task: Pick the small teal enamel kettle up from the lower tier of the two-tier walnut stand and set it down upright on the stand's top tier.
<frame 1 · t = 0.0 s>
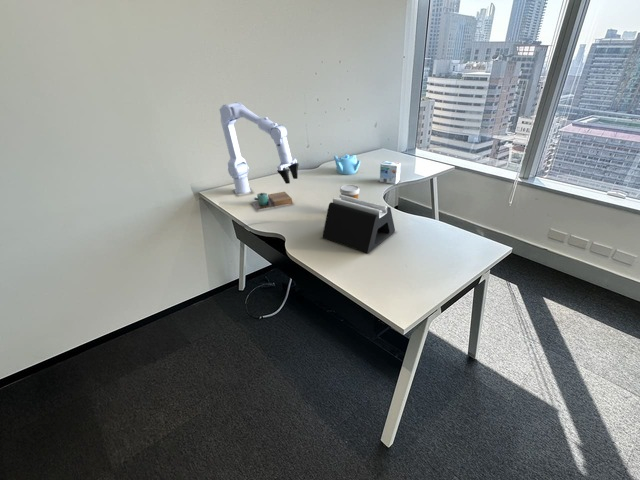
hand: (291, 181, 165), 11 cm above the table, tool pointing down, fingers open, 7 cm apart
disposable coffee cup: (350, 211, 161), on the table
teapot: (347, 172, 212), on the table
tier stand: (272, 204, 167), on the table
light bulb box: (389, 181, 198), on the table
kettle: (263, 203, 165), point 1 cm above the table, touching tier stand
device stand: (359, 235, 141), on the table
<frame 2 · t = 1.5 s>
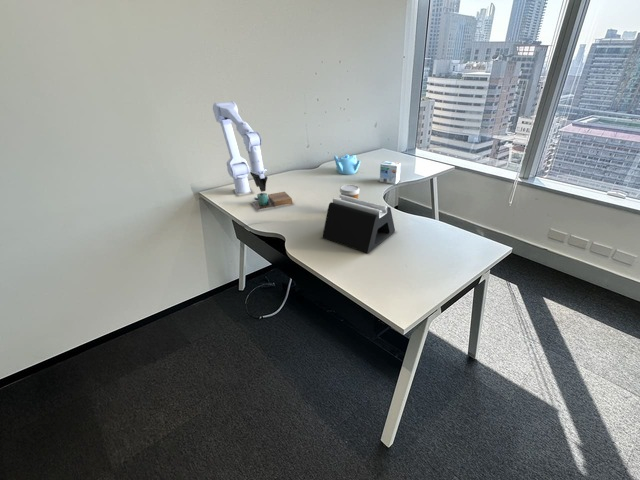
hand: (261, 188, 161), 9 cm above the table, tool pointing down, fingers open, 7 cm apart
nothing on the table moved.
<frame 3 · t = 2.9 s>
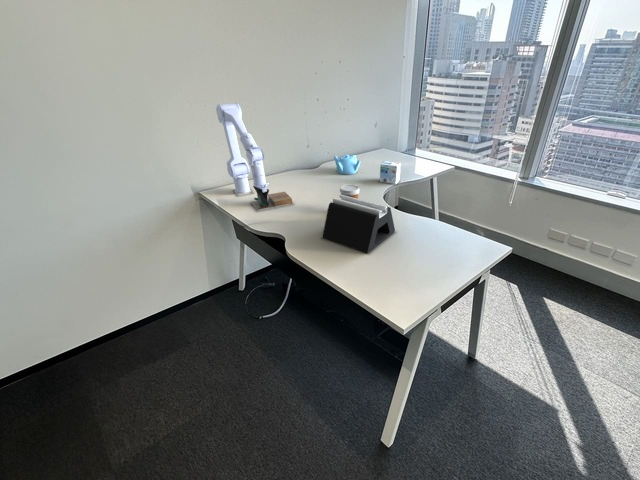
hand: (263, 201, 164), 2 cm above the table, tool pointing down, fingers closed on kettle, 5 cm apart
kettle: (263, 203, 165), point 1 cm above the table, touching gripper, tier stand
everything else where it was.
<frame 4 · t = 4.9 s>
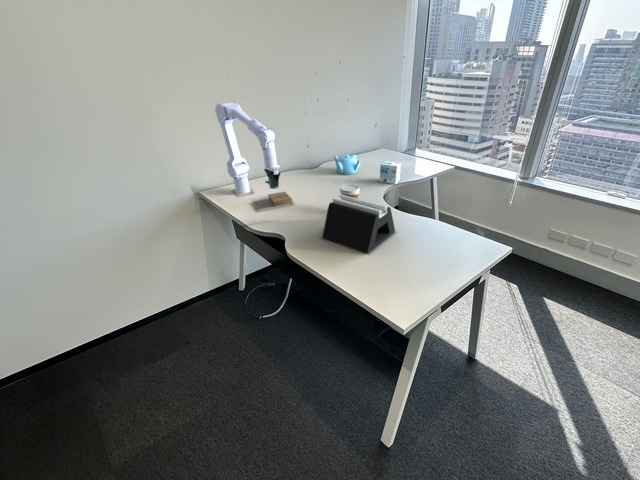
hand: (274, 184, 163), 9 cm above the table, tool pointing down, fingers closed on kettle, 5 cm apart
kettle: (274, 187, 164), point 8 cm above the table, touching gripper
everything else where it was.
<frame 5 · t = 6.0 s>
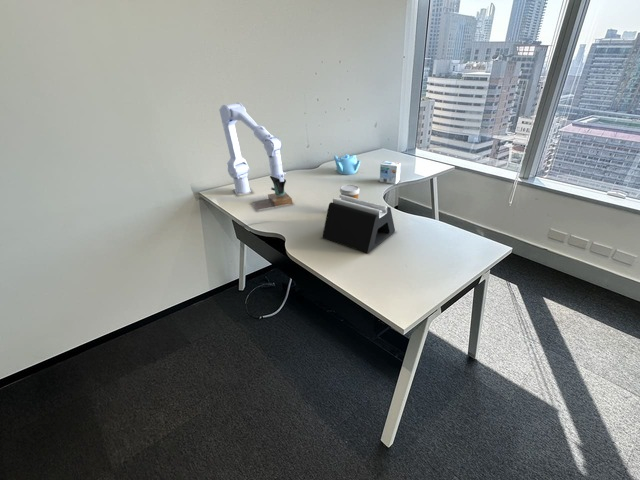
hand: (279, 191, 166), 6 cm above the table, tool pointing down, fingers closed on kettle, 5 cm apart
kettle: (280, 193, 167), point 4 cm above the table, touching gripper
everything else where it was.
when the fingers open (4 cm above the table, at t = 6.8 s): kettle stays where it is, resting on tier stand.
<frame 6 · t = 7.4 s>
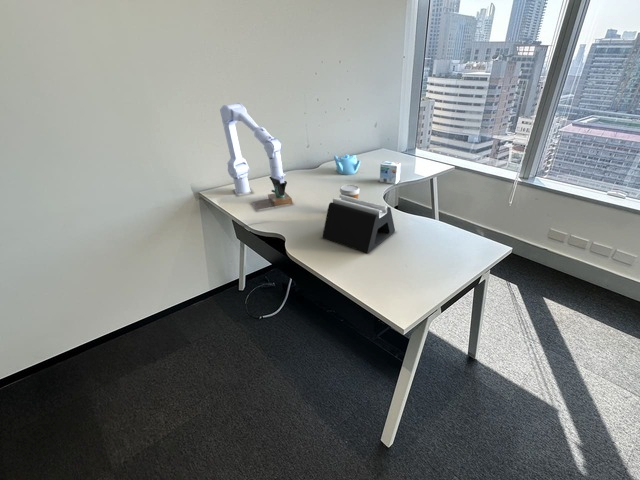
hand: (279, 192, 167), 5 cm above the table, tool pointing down, fingers open, 7 cm apart
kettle: (280, 195, 168), point 3 cm above the table, touching tier stand
everything else where it was.
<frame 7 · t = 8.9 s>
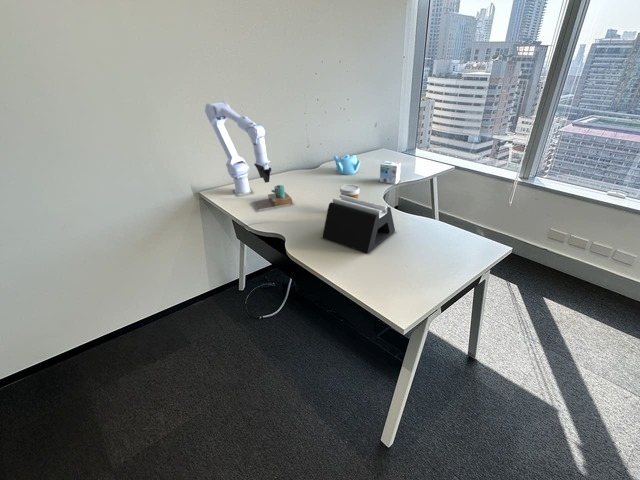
hand: (264, 179, 166), 10 cm above the table, tool pointing down, fingers open, 7 cm apart
nothing on the table moved.
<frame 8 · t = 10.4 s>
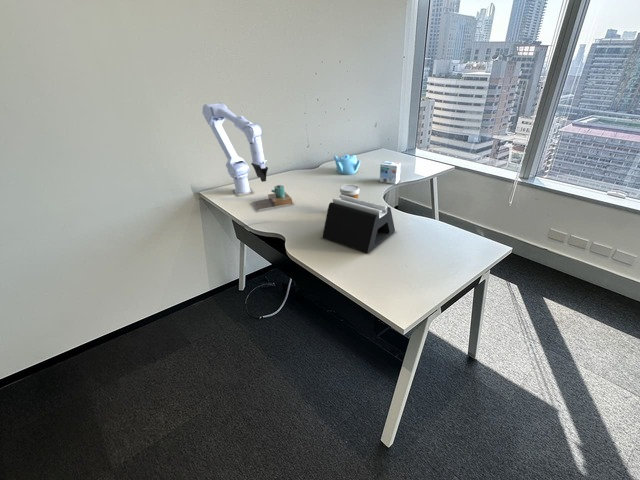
hand: (261, 179, 167), 10 cm above the table, tool pointing down, fingers open, 7 cm apart
nothing on the table moved.
at the end: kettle inside the target area on the tier stand (0.6 cm from its centre), point 3.2 cm above the tier stand's base; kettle tilted 0°; the gripper is holding nothing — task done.
